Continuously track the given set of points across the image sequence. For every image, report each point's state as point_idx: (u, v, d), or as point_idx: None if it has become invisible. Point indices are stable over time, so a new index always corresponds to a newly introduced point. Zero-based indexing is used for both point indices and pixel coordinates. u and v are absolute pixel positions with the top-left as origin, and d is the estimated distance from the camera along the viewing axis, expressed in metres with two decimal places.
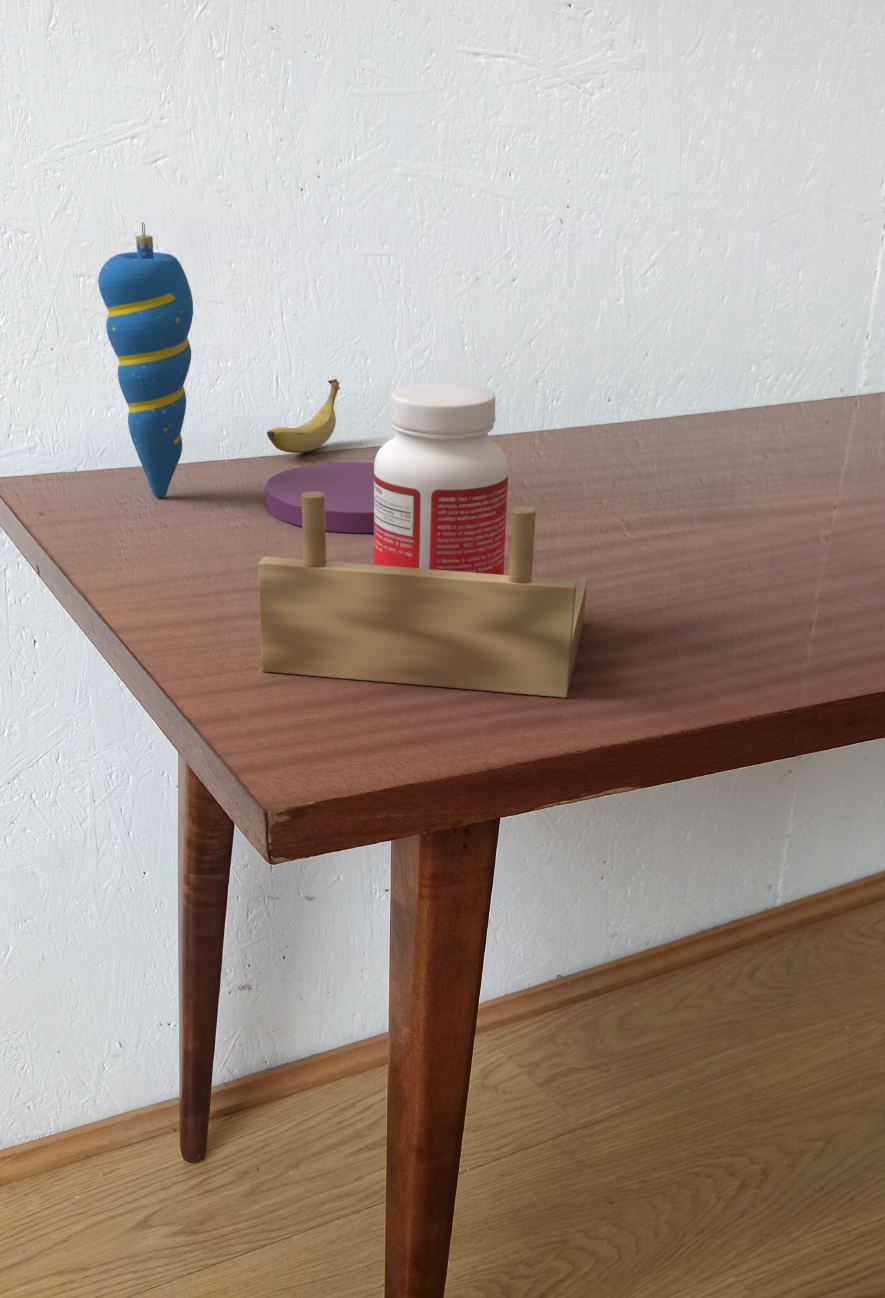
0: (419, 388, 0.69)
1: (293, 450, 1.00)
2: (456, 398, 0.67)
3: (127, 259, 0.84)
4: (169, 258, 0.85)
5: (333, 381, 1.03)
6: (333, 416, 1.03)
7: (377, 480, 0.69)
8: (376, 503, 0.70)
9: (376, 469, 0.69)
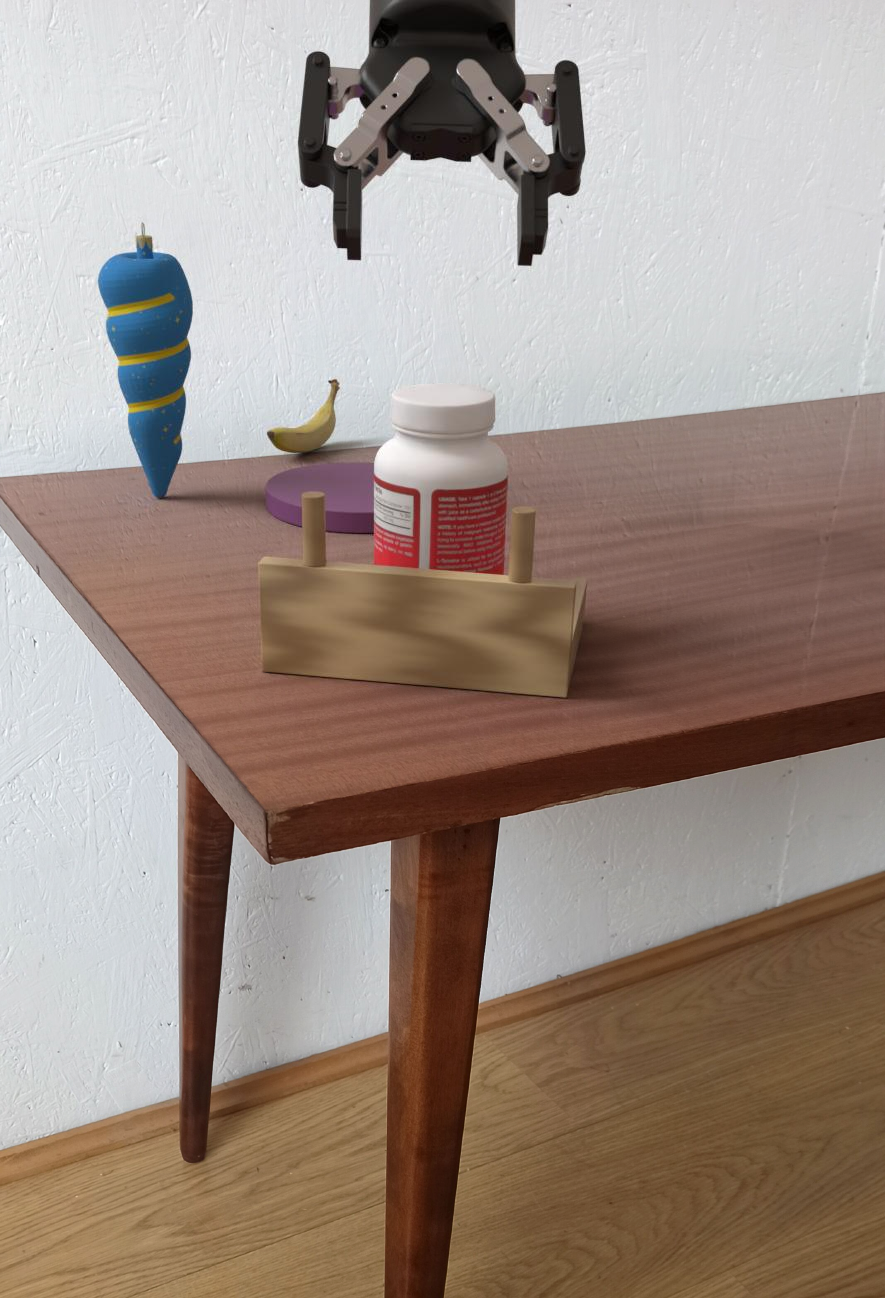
0: (419, 388, 0.69)
1: (293, 450, 1.00)
2: (456, 398, 0.67)
3: (127, 260, 0.84)
4: (169, 258, 0.85)
5: (333, 381, 1.03)
6: (333, 416, 1.03)
7: (377, 480, 0.69)
8: (376, 503, 0.70)
9: (376, 469, 0.69)
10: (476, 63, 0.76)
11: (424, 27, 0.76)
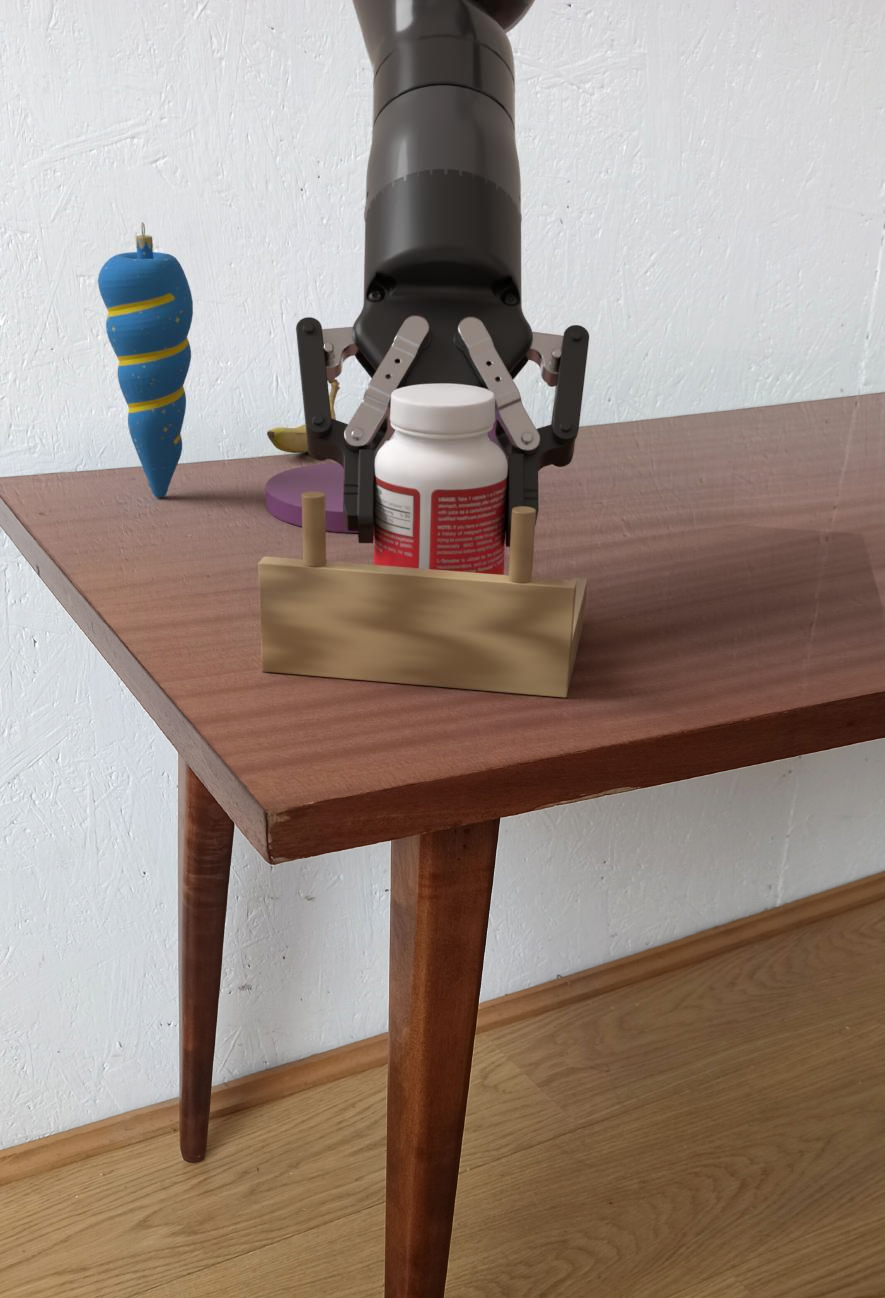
0: (419, 388, 0.69)
1: (293, 450, 1.00)
2: (456, 398, 0.67)
3: (127, 260, 0.84)
4: (169, 258, 0.85)
5: (333, 381, 1.03)
6: (333, 416, 1.03)
7: (377, 480, 0.69)
8: (376, 503, 0.70)
9: (376, 469, 0.69)
10: (481, 323, 0.70)
11: (423, 281, 0.71)
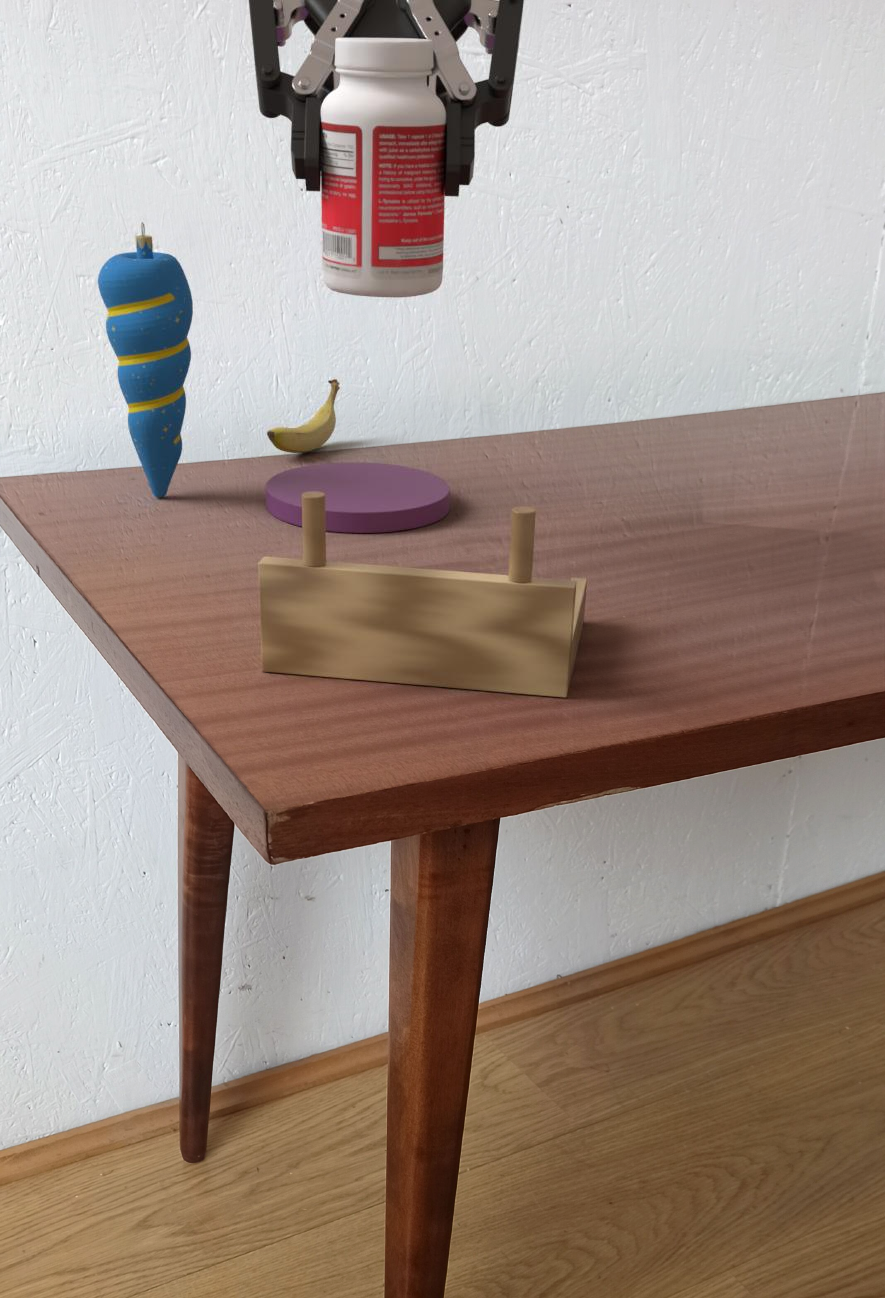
0: None
1: (293, 450, 1.00)
2: None
3: (127, 259, 0.84)
4: (169, 258, 0.85)
5: (333, 381, 1.03)
6: (333, 416, 1.03)
7: (322, 125, 0.73)
8: (322, 150, 0.74)
9: (322, 114, 0.73)
10: None
11: None
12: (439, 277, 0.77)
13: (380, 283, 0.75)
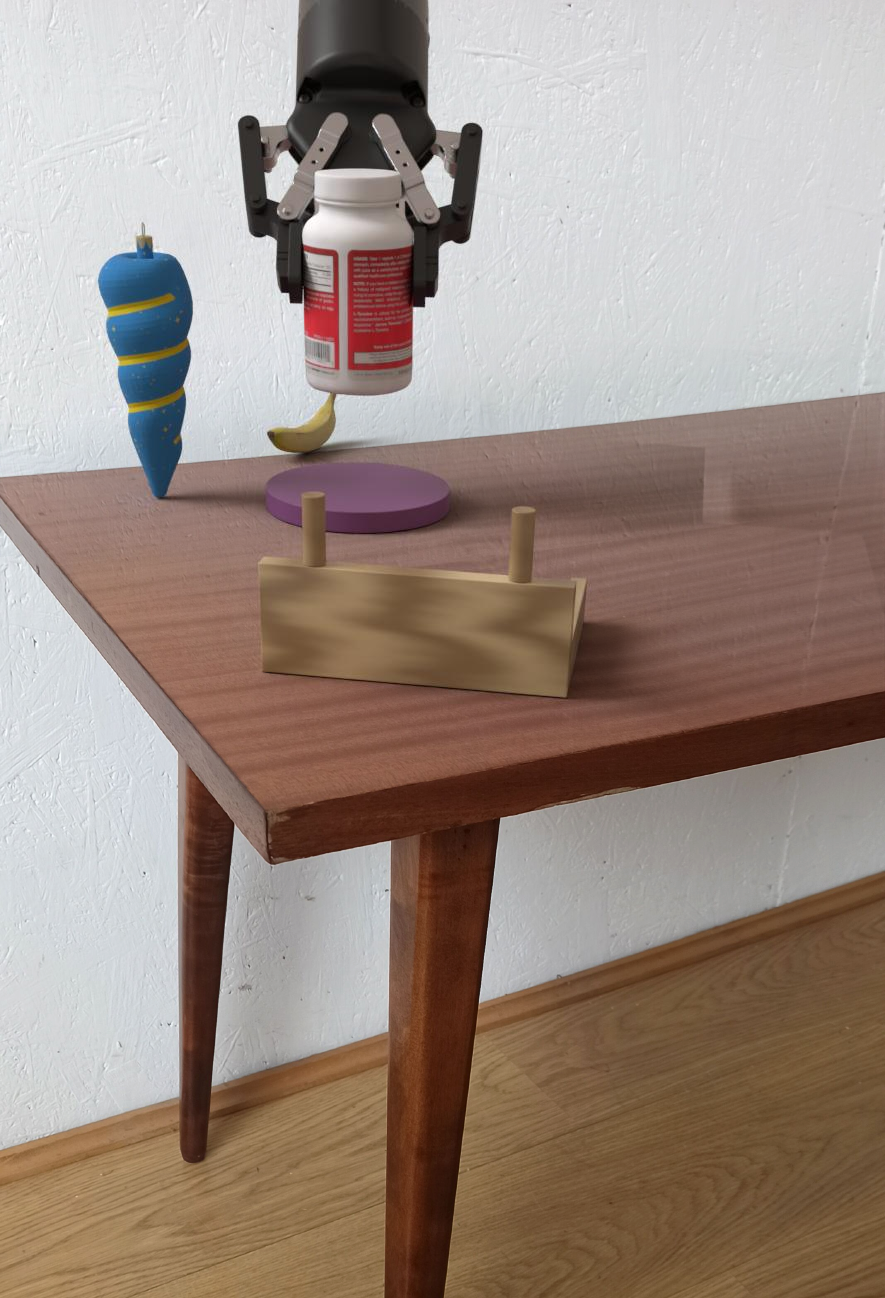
0: (339, 170, 0.83)
1: (293, 450, 1.00)
2: (368, 174, 0.81)
3: (127, 260, 0.84)
4: (169, 258, 0.85)
5: None
6: (333, 416, 1.03)
7: (304, 247, 0.83)
8: (304, 268, 0.84)
9: (303, 237, 0.83)
10: (391, 118, 0.84)
11: (343, 84, 0.85)
12: (409, 376, 0.87)
13: (356, 383, 0.85)
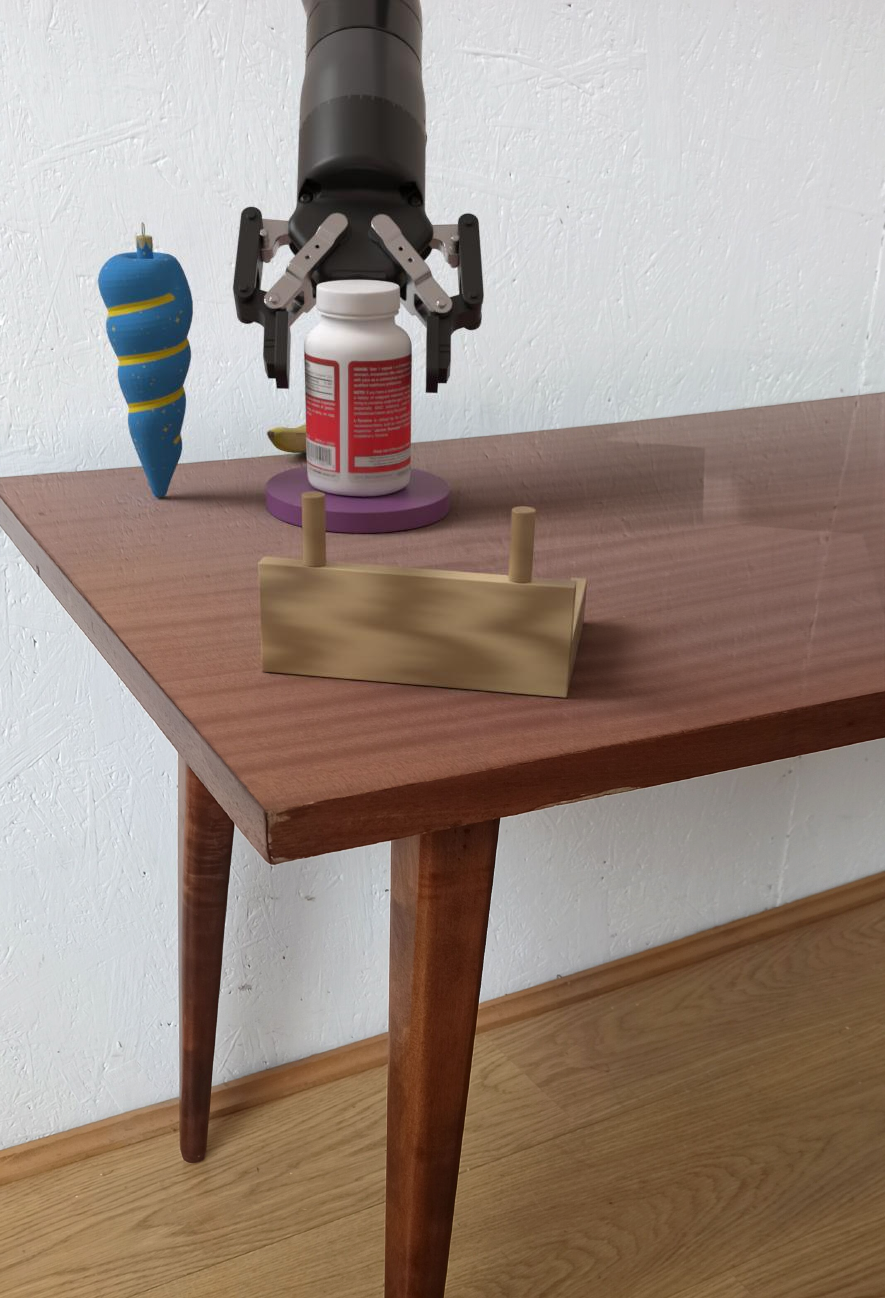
0: (340, 282, 0.86)
1: (293, 450, 1.00)
2: (367, 288, 0.85)
3: (127, 260, 0.84)
4: (169, 258, 0.85)
5: None
6: None
7: (306, 356, 0.86)
8: (306, 375, 0.87)
9: (305, 347, 0.86)
10: (388, 217, 0.87)
11: (343, 185, 0.87)
12: (407, 477, 0.90)
13: (356, 485, 0.88)
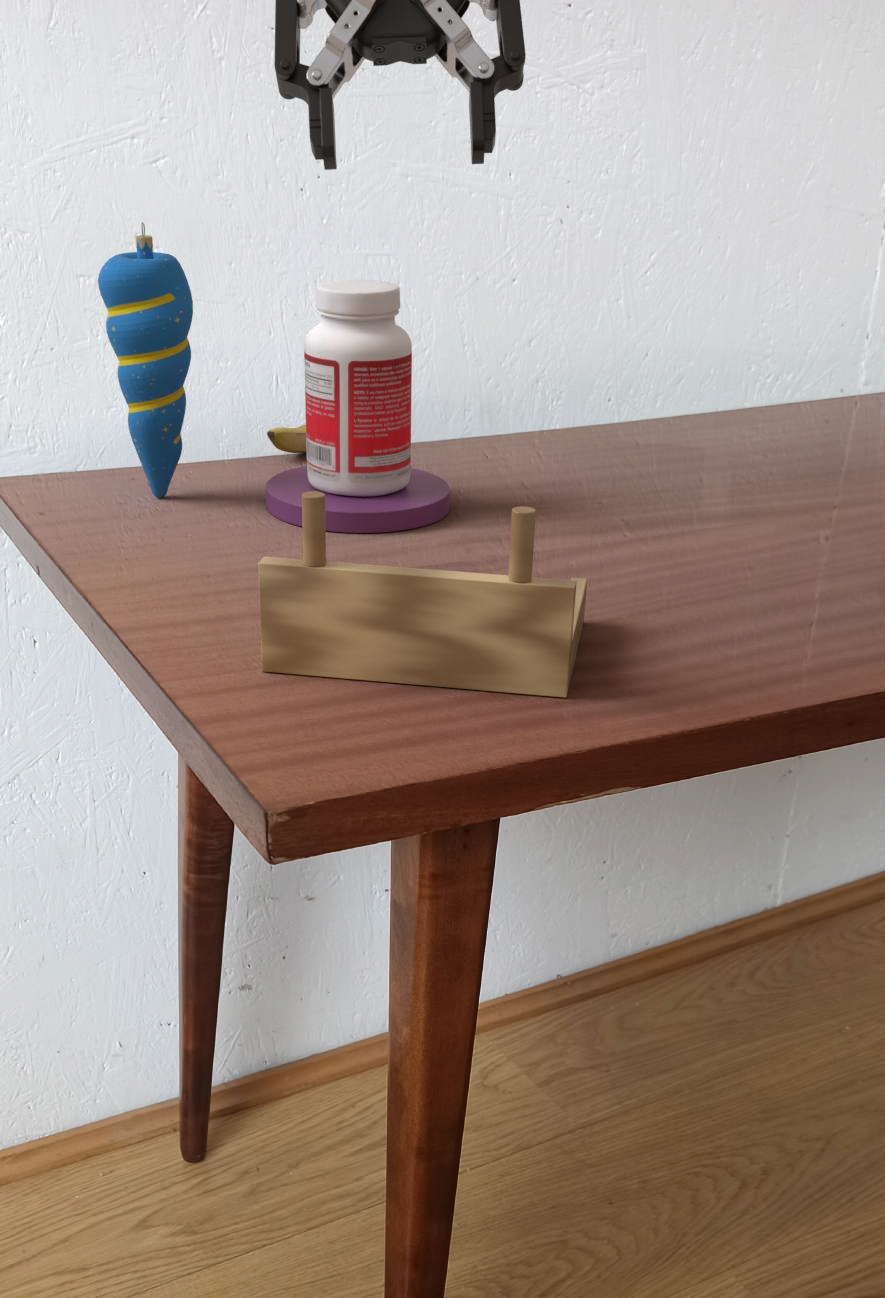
0: (340, 282, 0.86)
1: (293, 450, 1.00)
2: (367, 288, 0.85)
3: (127, 259, 0.84)
4: (169, 258, 0.85)
5: None
6: None
7: (306, 356, 0.86)
8: (306, 375, 0.87)
9: (305, 347, 0.86)
10: None
11: None
12: (407, 477, 0.90)
13: (356, 485, 0.88)
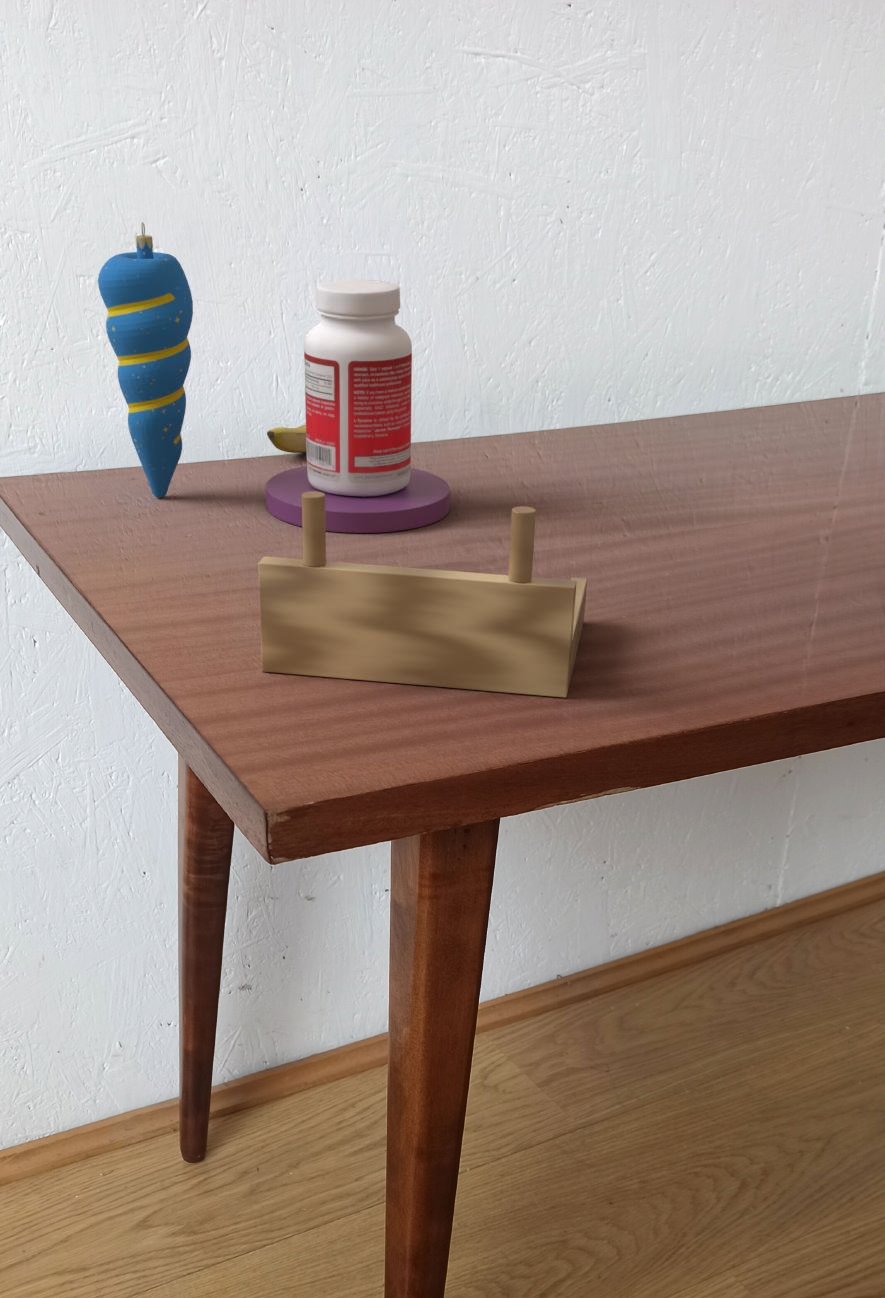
0: (340, 282, 0.86)
1: (293, 450, 1.00)
2: (367, 288, 0.85)
3: (127, 259, 0.84)
4: (169, 258, 0.85)
5: None
6: None
7: (306, 356, 0.86)
8: (306, 375, 0.87)
9: (305, 347, 0.86)
10: None
11: None
12: (407, 477, 0.90)
13: (356, 485, 0.88)
